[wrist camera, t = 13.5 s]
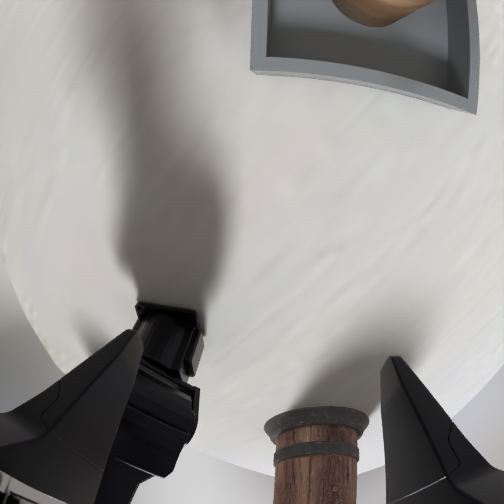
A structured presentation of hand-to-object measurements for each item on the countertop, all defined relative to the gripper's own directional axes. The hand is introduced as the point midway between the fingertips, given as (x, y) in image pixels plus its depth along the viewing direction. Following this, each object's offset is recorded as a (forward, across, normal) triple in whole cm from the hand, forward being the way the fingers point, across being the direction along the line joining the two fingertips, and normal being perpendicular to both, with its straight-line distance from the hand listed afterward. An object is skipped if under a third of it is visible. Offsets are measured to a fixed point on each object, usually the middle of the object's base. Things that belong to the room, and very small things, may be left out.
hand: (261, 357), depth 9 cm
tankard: (+13, -10, +39) cm, 42 cm away
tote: (+13, -5, -16) cm, 21 cm away
